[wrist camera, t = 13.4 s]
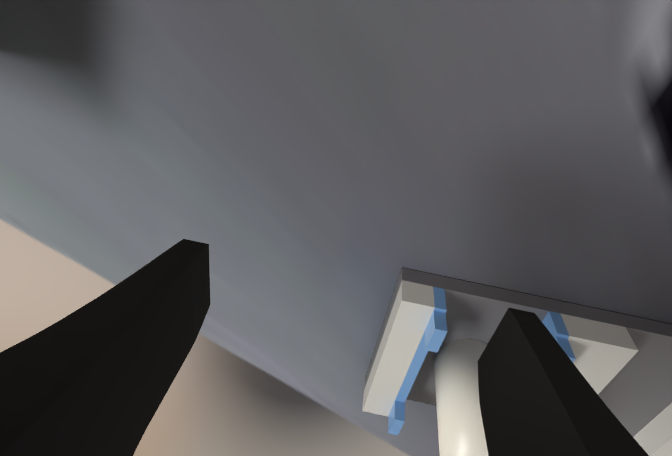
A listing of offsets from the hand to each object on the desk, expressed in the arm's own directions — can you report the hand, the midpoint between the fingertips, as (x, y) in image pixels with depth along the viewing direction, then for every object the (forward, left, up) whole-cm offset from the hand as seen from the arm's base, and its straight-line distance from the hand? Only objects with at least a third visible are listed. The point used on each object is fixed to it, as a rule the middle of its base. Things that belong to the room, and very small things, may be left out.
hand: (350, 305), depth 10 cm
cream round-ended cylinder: (-8, +12, -9) cm, 17 cm away
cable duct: (-13, +12, -10) cm, 21 cm away
